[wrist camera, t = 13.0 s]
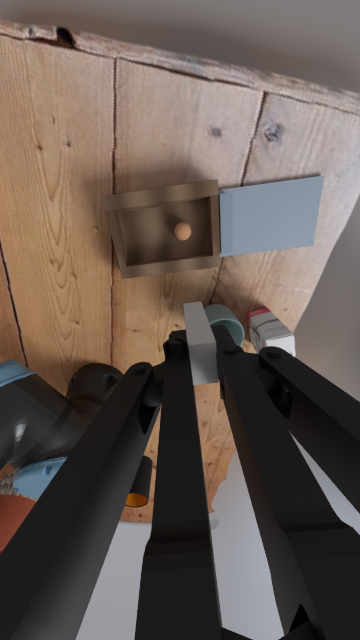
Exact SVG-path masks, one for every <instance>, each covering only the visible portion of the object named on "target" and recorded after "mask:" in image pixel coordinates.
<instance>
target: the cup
mask: <svg viewBox="0 0 360 640" xmlns="http://www.w3.org/2000/svg"><path fill="white" fill-rule="evenodd" d="M204 310H205V313H206V316H207V319H208V321H209V324H210V326H214V325H224V326H225V327H227V329H228V331H229V333H230V335H231V336H232V338H233V340H234V342H235V344H236V345H238V346H241V345H242V343H243V340H244V329H243V327H242V325H241V323H240V321H239V320H238V318H237V317H236V315H235V314H234V313H233V311H232V310H231V309H229V308H228V307H227V306H225V305H222V304H211V305H208V306H206V307H205V308H204Z"/></svg>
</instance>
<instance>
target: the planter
mask: <svg viewBox="0 0 360 640" xmlns="http://www.w3.org/2000/svg"><path fill="white" fill-rule="evenodd" d="M17 471H18V469H17V468H15V469H14V470H12V471H11V472H9V473H8V474H7V475H6V476H5V477H4V478H3V479H2V480H1V481H0V554H1V552H2V551H3V549H4V548H5V547H6V545H7V544H8V542H9V541H10V539H11V538H12V536H13V535H14V534H15V532H16V531H17V529H18V528H19V526H20V525H21V523H22V522H23V521H24V519H25V518H26V516H27V515H28V513H29V512H30V510H31V509H32V507H33V506H34V505H35V503H36V502H37V500H38V499H37V498H32V497H28V496H25V495H23V494H20V493H19V492H17V491H16V490H15V488H14V487H13V485H12V482H13V479H14V475H15V473H16V472H17Z"/></svg>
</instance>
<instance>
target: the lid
mask: <svg viewBox="0 0 360 640" xmlns="http://www.w3.org/2000/svg"><path fill="white" fill-rule="evenodd" d="M323 179H324V176H318V177H310V178H303V179H296V180H288V181H281V182H274V183H266V184H259V185H252V186H244V187H237V188H230V189H223V190H218V207H219V236H220V257H222V256H231V255H239V254H247V253H255V252H264V251H272V250H280V249H288V248H297V247H305V246H313V242H314V235H315V229H316V223H317V216H318V210H319V204H320V198H321V191H322V185H323Z"/></svg>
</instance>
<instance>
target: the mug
mask: <svg viewBox="0 0 360 640" xmlns="http://www.w3.org/2000/svg"><path fill="white" fill-rule="evenodd" d="M152 464H153V463H152V460H151V459H150V458H149V457H146V456H143V457H142V460H141V462H140V465H139V468H138V470H137V473H136V476H135V479H134V481H133V484H132V487H131V489H130V492H129V495H128V498H127V500H126V503H125V505H126V506H129V507H142V506H144V505H146V504H147V503H148V499H149V491H150V482H151V473H152Z"/></svg>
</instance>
